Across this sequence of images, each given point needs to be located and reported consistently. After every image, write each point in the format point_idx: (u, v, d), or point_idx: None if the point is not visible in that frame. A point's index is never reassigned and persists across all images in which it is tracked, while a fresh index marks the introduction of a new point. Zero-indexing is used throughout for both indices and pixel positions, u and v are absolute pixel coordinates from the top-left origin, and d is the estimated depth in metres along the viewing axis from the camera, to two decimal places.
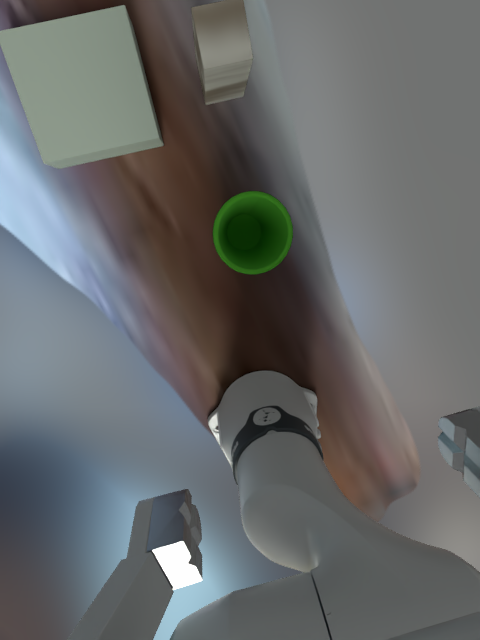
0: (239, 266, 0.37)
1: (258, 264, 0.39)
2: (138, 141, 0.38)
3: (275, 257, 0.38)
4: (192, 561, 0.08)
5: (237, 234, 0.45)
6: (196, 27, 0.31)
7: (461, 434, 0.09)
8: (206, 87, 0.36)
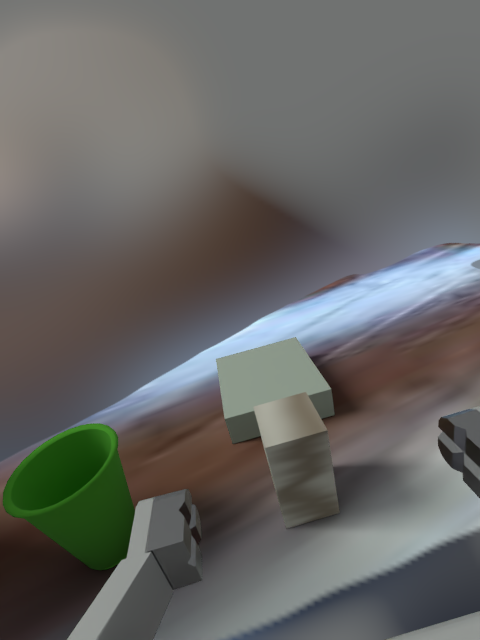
0: (39, 456, 0.29)
1: (29, 492, 0.27)
2: (223, 405, 0.40)
3: (17, 504, 0.25)
4: (192, 561, 0.08)
5: None
6: (289, 397, 0.29)
7: (461, 434, 0.09)
8: None
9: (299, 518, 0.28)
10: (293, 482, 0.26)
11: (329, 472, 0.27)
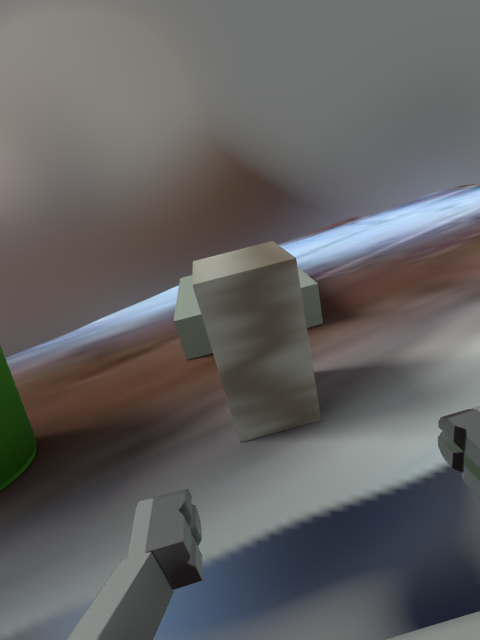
0: None
1: None
2: (176, 310, 0.30)
3: None
4: (192, 561, 0.08)
5: None
6: (247, 248, 0.19)
7: (461, 434, 0.09)
8: None
9: (259, 424, 0.19)
10: (244, 358, 0.17)
11: (302, 343, 0.17)
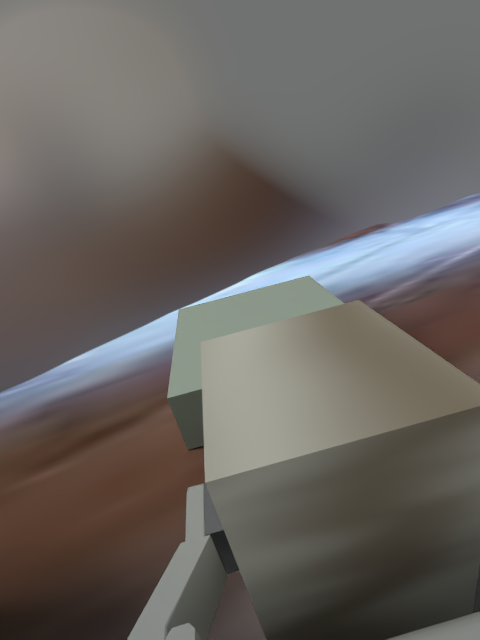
0: None
1: None
2: (172, 374, 0.20)
3: None
4: None
5: None
6: (310, 314, 0.10)
7: None
8: None
9: None
10: (328, 606, 0.07)
11: (465, 567, 0.07)
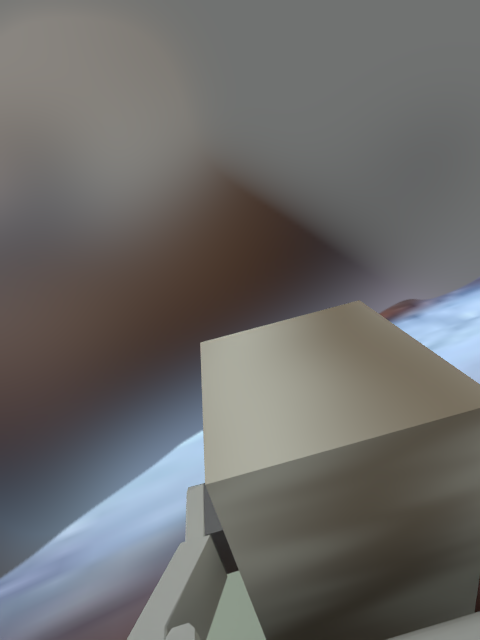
0: None
1: None
2: None
3: None
4: None
5: None
6: (310, 315, 0.10)
7: None
8: None
9: None
10: (329, 608, 0.07)
11: (466, 569, 0.07)
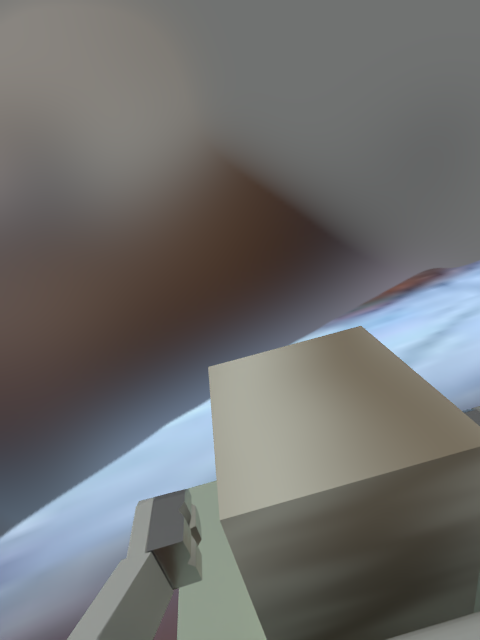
0: None
1: None
2: None
3: None
4: (192, 561, 0.08)
5: None
6: (314, 340, 0.10)
7: None
8: None
9: None
10: (333, 627, 0.07)
11: (463, 590, 0.07)
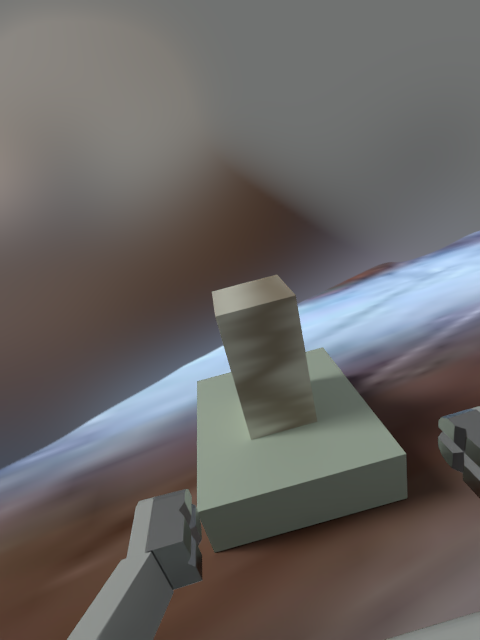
0: None
1: None
2: (198, 477, 0.21)
3: None
4: (192, 561, 0.08)
5: None
6: (256, 280, 0.24)
7: (461, 434, 0.09)
8: None
9: (267, 425, 0.23)
10: (255, 372, 0.21)
11: (301, 360, 0.21)
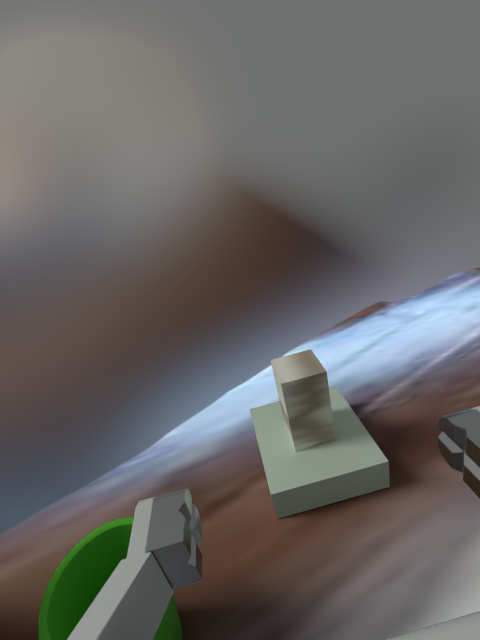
0: (74, 560, 0.25)
1: (65, 609, 0.24)
2: (266, 474, 0.36)
3: (54, 634, 0.21)
4: (192, 561, 0.08)
5: None
6: (298, 353, 0.38)
7: (461, 434, 0.09)
8: None
9: (305, 443, 0.38)
10: (301, 413, 0.36)
11: (328, 406, 0.36)
